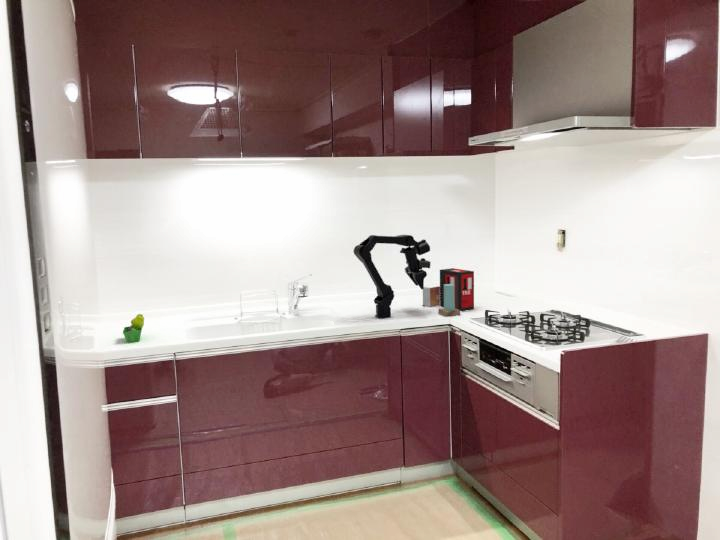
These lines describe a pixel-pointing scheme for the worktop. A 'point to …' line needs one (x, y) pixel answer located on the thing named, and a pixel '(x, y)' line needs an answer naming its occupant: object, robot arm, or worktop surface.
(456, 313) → the walnut slab
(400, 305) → the worktop surface
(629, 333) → the worktop surface
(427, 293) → the small box
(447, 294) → the teal block
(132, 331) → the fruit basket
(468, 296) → the cleaning product box
